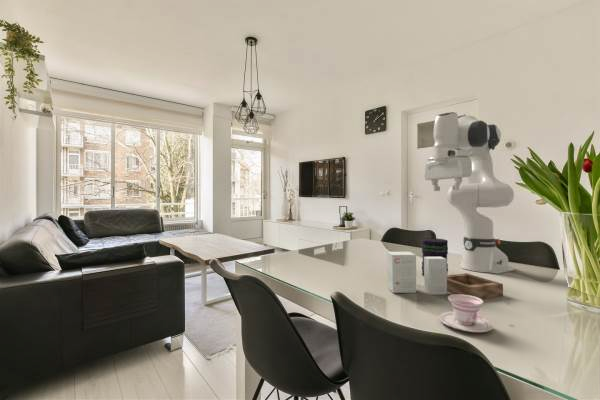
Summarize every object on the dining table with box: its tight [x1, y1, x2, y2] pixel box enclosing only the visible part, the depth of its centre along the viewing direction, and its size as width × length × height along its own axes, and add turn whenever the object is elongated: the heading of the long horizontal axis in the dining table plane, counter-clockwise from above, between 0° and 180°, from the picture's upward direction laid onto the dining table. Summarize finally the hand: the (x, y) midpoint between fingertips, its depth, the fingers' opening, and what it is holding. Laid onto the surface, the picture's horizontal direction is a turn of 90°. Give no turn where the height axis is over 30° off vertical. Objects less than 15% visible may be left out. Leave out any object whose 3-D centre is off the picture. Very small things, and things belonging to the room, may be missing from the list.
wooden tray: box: [447, 272, 504, 300], centre depth 99 cm, size 14×14×4 cm
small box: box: [387, 251, 417, 294], centre depth 101 cm, size 8×6×13 cm
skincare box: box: [423, 257, 448, 296], centre depth 98 cm, size 6×4×12 cm
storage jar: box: [421, 237, 449, 277], centre depth 120 cm, size 10×10×15 cm
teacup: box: [438, 294, 493, 333], centre depth 75 cm, size 12×12×6 cm
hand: (446, 190), depth 111 cm, fingers open, 8 cm apart
